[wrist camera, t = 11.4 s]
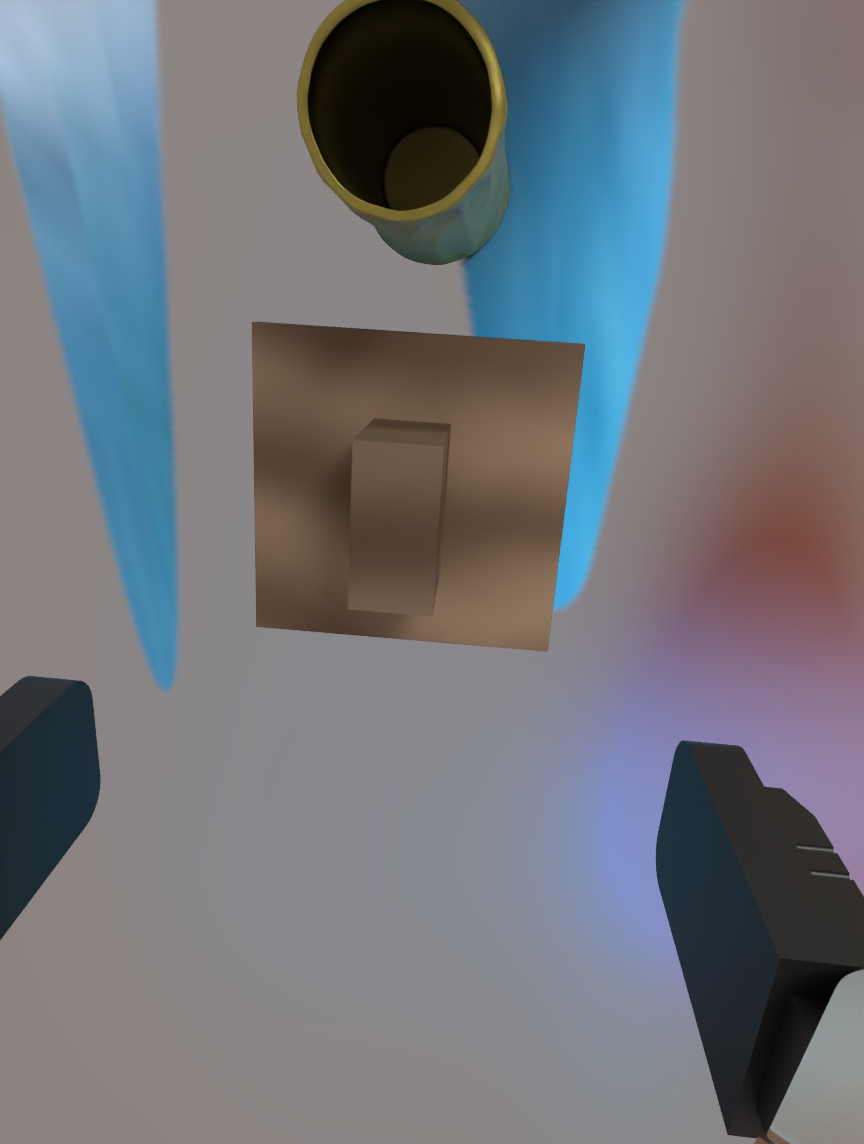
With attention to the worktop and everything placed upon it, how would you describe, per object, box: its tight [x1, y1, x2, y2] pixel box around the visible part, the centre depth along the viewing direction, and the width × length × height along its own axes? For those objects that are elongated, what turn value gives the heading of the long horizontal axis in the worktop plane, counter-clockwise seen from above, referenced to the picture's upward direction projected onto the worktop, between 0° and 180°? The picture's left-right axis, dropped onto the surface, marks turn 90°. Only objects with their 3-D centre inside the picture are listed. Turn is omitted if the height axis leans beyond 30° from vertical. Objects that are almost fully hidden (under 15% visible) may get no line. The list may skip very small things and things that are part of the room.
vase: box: [297, 0, 510, 265], centre depth 26 cm, size 6×6×14 cm
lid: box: [252, 322, 585, 651], centre depth 29 cm, size 12×12×6 cm
